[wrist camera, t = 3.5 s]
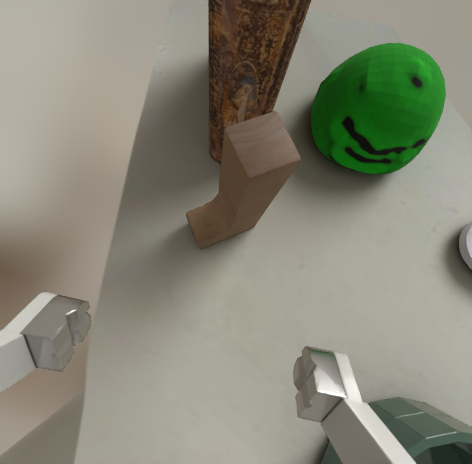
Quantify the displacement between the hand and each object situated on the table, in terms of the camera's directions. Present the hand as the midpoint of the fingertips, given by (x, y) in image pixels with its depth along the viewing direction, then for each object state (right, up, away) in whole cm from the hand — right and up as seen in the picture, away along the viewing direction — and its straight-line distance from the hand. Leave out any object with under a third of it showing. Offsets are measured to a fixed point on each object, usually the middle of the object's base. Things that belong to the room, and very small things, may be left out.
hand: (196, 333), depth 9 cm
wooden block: (0, +5, +18) cm, 19 cm away
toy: (+17, +17, +23) cm, 33 cm away
